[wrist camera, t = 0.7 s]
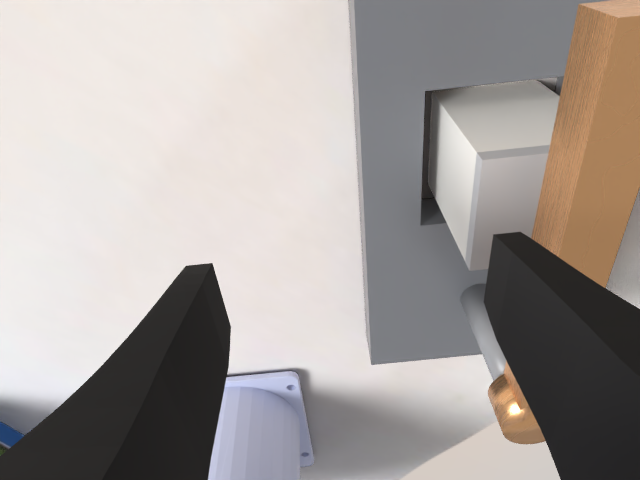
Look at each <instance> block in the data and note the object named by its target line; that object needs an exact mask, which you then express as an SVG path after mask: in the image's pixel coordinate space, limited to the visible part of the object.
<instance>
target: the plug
mask: <svg viewBox="0 0 640 480" xmlns="http://www.w3.org/2000/svg"><path fill="white" fill-rule="evenodd" d="M559 99H560V96H558V95H557V94H556V93H554V92H553V91H552V90H550V89H549V88H547V87H546V86H545V85H543V84H542V83H540V82H539V81H538V80H532V81H523V82H513V83H504V84H495V85H486V86H476V87H467V88H458V89H449V90H440V91H432V101H431V124H430V147H429V170H428V185H429V187H430V189H431V191H432V193H433V195H434V197H435V199H436V201H437V204H438V206H439V208H440V210H441V212H442V214H443V216H444V218H445V220H446V222H447V225H448V227H449V229H450V231H451V233H452V235H453V237H454V239H455V241H456V243H457V246H458V248H459V250H460V252H461V254H462V256H463V258H464V260H465V262H466V264H467V267H468V269H469V271H473V270H484V269H488V267H489V260H490V254H491V247H492V240H493V234H503V233H512V232H522V233H523V234H525V235H527V236H528V237H530V238H531V236H532V231H533V227H534V222H535V217H536V212H537V207H538V202H539V197H540V192H541V187H542V182H543V177H544V172H545V167H546V163H547V158H548V153H549V148H550V143H551V138H552V133H553V128H554V123H555V118H556V113H557V108H558V103H559Z"/></svg>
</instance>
